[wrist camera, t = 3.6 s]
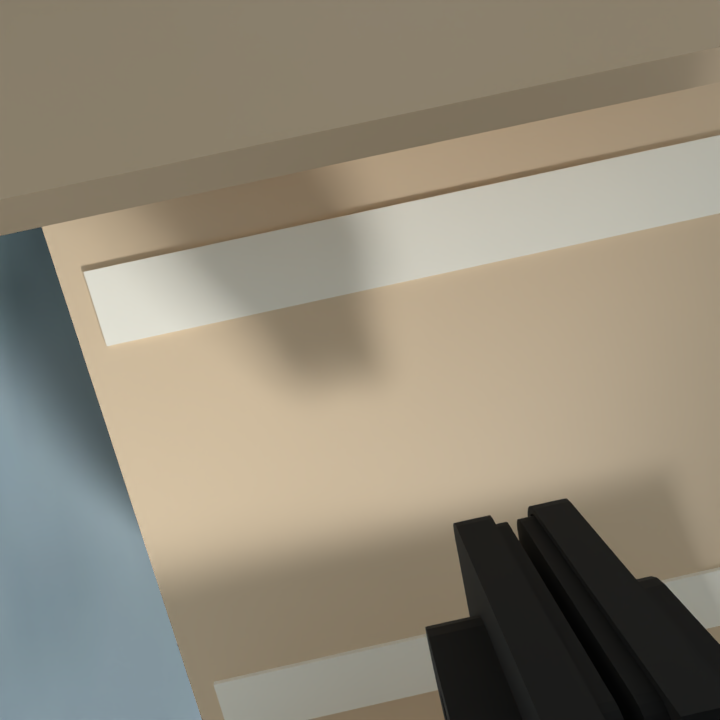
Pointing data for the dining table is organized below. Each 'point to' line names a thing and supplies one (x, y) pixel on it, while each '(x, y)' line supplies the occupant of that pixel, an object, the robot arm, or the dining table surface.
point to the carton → (408, 388)
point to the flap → (301, 85)
